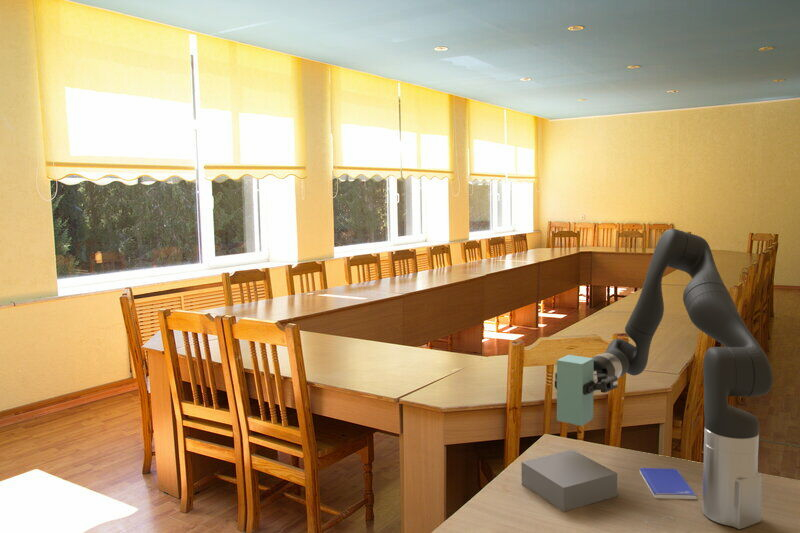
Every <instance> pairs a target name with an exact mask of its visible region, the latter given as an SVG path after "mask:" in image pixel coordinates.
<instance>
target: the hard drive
mask: <svg viewBox="0 0 800 533" xmlns="http://www.w3.org/2000/svg"><path fill="white" fill-rule="evenodd" d="M639 474H640V475H641V477H642V478H643V481H644V482H645V484H646V485H647V488H648V489H649V491H650V493H651V494H652V495H653V497H654V498H655V499H674V500H675V499H678V500H679V499H681V500H683V499H684V500H697V494H696V492H694V490H693V488H692V487H691V486H690V484H689V483H688V482H687V481H686V480H685V478H684V477H683V475H682V474H681V473H680V471H679V470H678V469H677V468H659V467H657V468H656V467H655V468H654V467H640V468H639Z"/></svg>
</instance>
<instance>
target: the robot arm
mask: <svg viewBox="0 0 800 533" xmlns="http://www.w3.org/2000/svg"><path fill="white" fill-rule="evenodd" d="M667 268H672V269H675V270H679V271H681V272H685V273H687V274H688V275H689V277H690V278H691V280H689V282H688V283H687V284H686V286H685V288H684V290H683V294H682V302H683V305H684V307H685V310H686V313H687V315H688V318H689V319H690V321H691V323H692V324H693V325H694V326H695V327H696V328H697V329H698V330H700V331H701V332H702V333H703V334H705V335H706V336H708V337H710V338H711V339H713V340H715V341H717V342H718V343H719V344H721V345H722V346H711V347H708V348H707V350H706V352H705V353H704V357H703V364H702V365H703V367H702V368H703V369H702V370H703V374H702V375H703V412H704V430H703V431H704V433H703V435H704V437H703V440H704V441H703V464H702V465H703V469H702V472H703V473H702V474H703V476H702V477H703V478H702V513H703V515H704V516H705V517H707V518H708V519H709V520H710V521H713V522H714V523H718V524H720V525H724V526H729V527H734V528H736V529H738V530H741V529H745V528H748V527H751V526H753V525H755V524H758V523H761V522H762V502H763V500H762V498H763V474H762V473H761V472H759V470H758V469H759V468H758V466H759V465H758V464H759V444H760V443H759V442H760V440H759V439H760V438H759V437H760V421H759V418H757V416H756V415H754V414H752V413H751V412H750V411H747V410H745V409H744V410H743V409H741V408H738V407H735V406H733V405H731V404H729V401H728V397H760V396H764V395H767V394H768V393H769V392H771V390H772V387H773V384H774V383H773V382H774V378H773V377H774V375H773V374H774V373H773V370H772V367H771V363H770V361H769V358H768V357H767V354H766V353H765V351H764V350H763V348H762V346H761V345H760V343H759V342H758V341H757V339H756V338H755V337H754V335H753V334H752V333H751V331H750V329H749V328H748V326H747V324H745V322H744V320H743V318H742V316H741V315H740V312H739V310H738V309H737V306H736V304H735V302H734V300H733V298H732V296H731V294H730V291H729V290H728V289H727V286H726V285H725V283H724V280H723V279H722V277H721V275H720V272H719V271H718V268H717V265H716V262H715V259H714V257H713V253H712V250H711V247H710V245H709V242H707V240H706V239H705V238H703V237H702V236H700V235H697V234H694V233H690V232H688V231H684V230H680V229H678V228H677V229H676V228H668V229H667V230H665V231H664V232H663V233H662V234H661V236H660V237H659V239H658V241H657V243H656V246H655V248H654V250H653V253H652V256H651V260H650V263H649V265H648V268H647V271H646V275H645V279H644V283H643V284H642V288H641V291H640V294H639V297H638V299H637V301H636V305H635V306H634V308H633V310H632V312H631V315H630V316H629V318H628V321H627V322H626V324H625V327H624V332H625V334H626V335H627V336H628V337H629V338H630V339H631V340H632V341H633V343H634V344H635V345H633V344H631V343H630V342H629V341H626V340H625V339H622V338H615V339H613V340H612V341H611V342H609V345H608V346H607V348H606V350H605V352H603V353H598V354H596V355H594V356H592V357H591V358H594V377H593V380H592V382H591V381H590V382H588V383H586V384H585V385H584V386H583V394H584V395H588V394H589V393H592V392H593V393H596V392H598V391H600V392H601V393H603V394H604V393H608V392H611V391H612V390H615V389H617V388H618V384H619V383H618V379H619V378H621V377H623V376H624V375H625V374H628V375H630V376H639V375H641V373H643V372H644V371H645V369H646V367H647V365H648V360H649V354H650V349H651V348H650V347H651V344H652V340H653V338H654V335H655V334H656V331H657V329H658V328H659V326H660V324H661V322H662V321H663V320H662V319H663V317H664V312H665V303H664V297H663V286H662V284H663V283H662V281H663V276H664V274H665V271H666V269H667ZM554 374H555V376H554V379H555V380H554V388H555V390H557V371H556V372H555V373H554Z"/></svg>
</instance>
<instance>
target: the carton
mask: <svg viewBox="0 0 800 533" xmlns="http://www.w3.org/2000/svg"><path fill="white" fill-rule="evenodd" d="M556 372H557V389H556V421H558V422H561V423H567V424H570V425H576V426H579V427H580V426H581V427H584V426H585V425H586V424H588V423H589V422H590V421H592V420H593V419H594V392H592V393H589V394H588V395H584V394H583V386H584V385H585V384H586V383H588V382H590V381H591V382H592V380H593V377H594V358H592V357H587V356H580V355H573V354H567V355H565V356H563V357H560V358H558V359H557V360H556Z"/></svg>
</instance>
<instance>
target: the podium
mask: <svg viewBox="0 0 800 533" xmlns="http://www.w3.org/2000/svg"><path fill="white" fill-rule="evenodd" d="M521 485H523V486H525V487H526V488H527V489H529V490H530V491H531V492H533V493H534V494H537V495H538V497H540V498H542V499H543V500H545V501H547V502H548V503H550V504H551V505H552V506H554V507H556V508H557V509H559V511H562V512H563V513H565V512H569V511H571V510H574V509H578V508H582V507H585V506H588V505H591V504H594V503H599V502H601V501H606V500H609V499H613V498H616V497H618V472H616V471H614V470H613V469H611V468H609V467H607V466H605V465H602V464H601V463H599V462H597V461H595V460H593V459H592V458H589V457H587V456H586V455H584V454H582V453H580V452H578V451H576V450H574V449H569V450H564V451H561V452H560V451H559V452H556V453H552V454H548V455H544V456H539V457H536V458H531V459H527V460H524V461H523V460H522V461H521Z"/></svg>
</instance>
